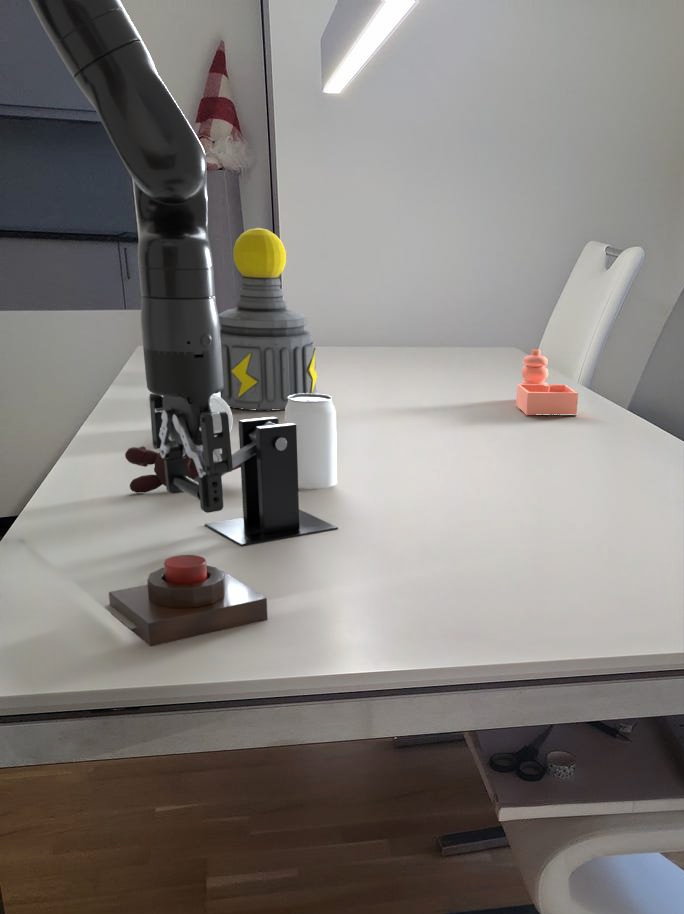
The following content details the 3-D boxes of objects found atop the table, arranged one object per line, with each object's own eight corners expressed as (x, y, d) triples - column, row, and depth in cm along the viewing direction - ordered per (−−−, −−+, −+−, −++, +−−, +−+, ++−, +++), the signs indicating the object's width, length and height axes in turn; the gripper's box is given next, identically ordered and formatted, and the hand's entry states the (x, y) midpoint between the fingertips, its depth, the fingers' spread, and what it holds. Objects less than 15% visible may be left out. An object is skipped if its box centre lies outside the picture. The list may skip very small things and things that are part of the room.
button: (175, 589, 90) (174, 570, 89) (158, 577, 92) (157, 558, 91) (214, 581, 92) (212, 563, 91) (196, 570, 94) (195, 552, 94)
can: (317, 480, 140) (315, 391, 135) (347, 491, 136) (346, 398, 131) (277, 488, 136) (273, 395, 131) (306, 498, 131) (304, 403, 127)
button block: (150, 647, 87) (146, 603, 85) (110, 614, 93) (106, 572, 92) (267, 620, 93) (266, 579, 92) (223, 591, 100) (220, 552, 98)
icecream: (247, 435, 135) (129, 444, 133) (241, 432, 128) (117, 442, 126) (253, 488, 136) (136, 498, 134) (248, 489, 129) (125, 499, 127)
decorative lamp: (330, 397, 198) (327, 229, 186) (297, 415, 181) (292, 231, 169) (237, 390, 201) (228, 224, 189) (196, 407, 184) (183, 226, 172)
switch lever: (203, 507, 107) (193, 488, 106) (179, 494, 111) (168, 475, 110) (296, 447, 112) (287, 427, 110) (269, 436, 116) (260, 417, 114)
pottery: (576, 416, 190) (580, 361, 186) (526, 415, 189) (529, 360, 185) (552, 398, 206) (556, 348, 203) (506, 398, 205) (509, 347, 201)
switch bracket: (241, 555, 110) (235, 435, 105) (204, 533, 116) (197, 420, 111) (338, 537, 117) (336, 424, 112) (298, 518, 123) (295, 410, 118)
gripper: (118, 337, 106) (134, 491, 112) (176, 354, 96) (189, 523, 102) (187, 333, 110) (199, 482, 117) (249, 350, 100) (258, 512, 106)
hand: (194, 501), depth 109 cm, fingers open, 8 cm apart
